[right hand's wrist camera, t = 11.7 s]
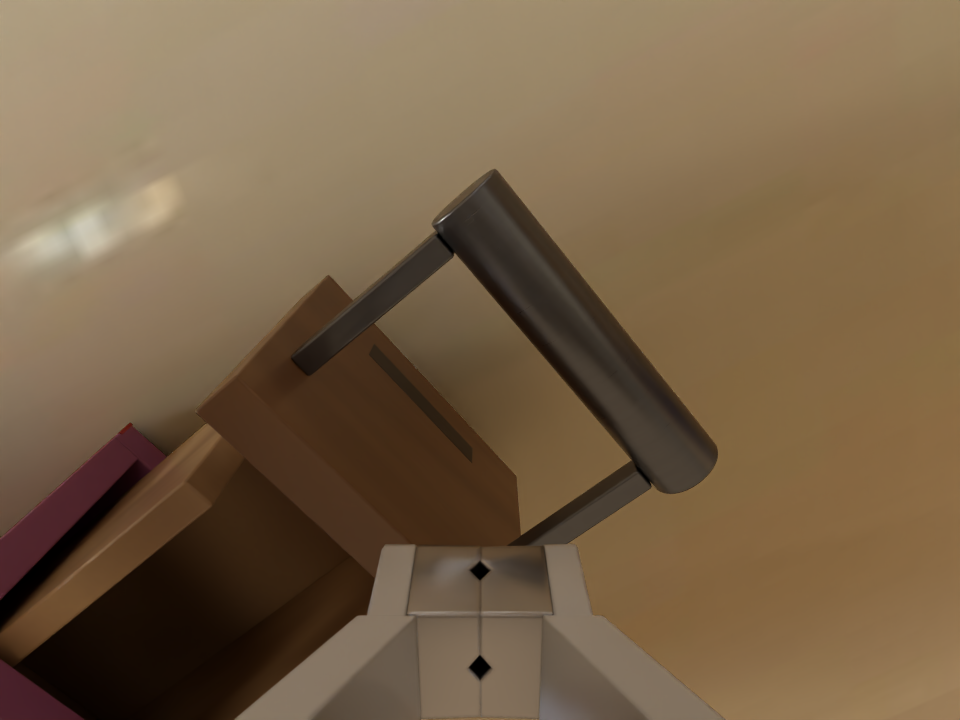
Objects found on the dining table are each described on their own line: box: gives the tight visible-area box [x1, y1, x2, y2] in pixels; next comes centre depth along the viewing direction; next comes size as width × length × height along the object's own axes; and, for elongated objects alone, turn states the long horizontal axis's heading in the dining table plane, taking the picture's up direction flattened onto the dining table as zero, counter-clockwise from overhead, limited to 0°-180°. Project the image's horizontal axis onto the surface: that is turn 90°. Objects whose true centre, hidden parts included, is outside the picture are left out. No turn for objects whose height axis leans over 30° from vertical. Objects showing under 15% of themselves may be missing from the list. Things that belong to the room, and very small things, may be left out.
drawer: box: [0, 169, 718, 720], centre depth 19 cm, size 25×9×8 cm, turn 130°
